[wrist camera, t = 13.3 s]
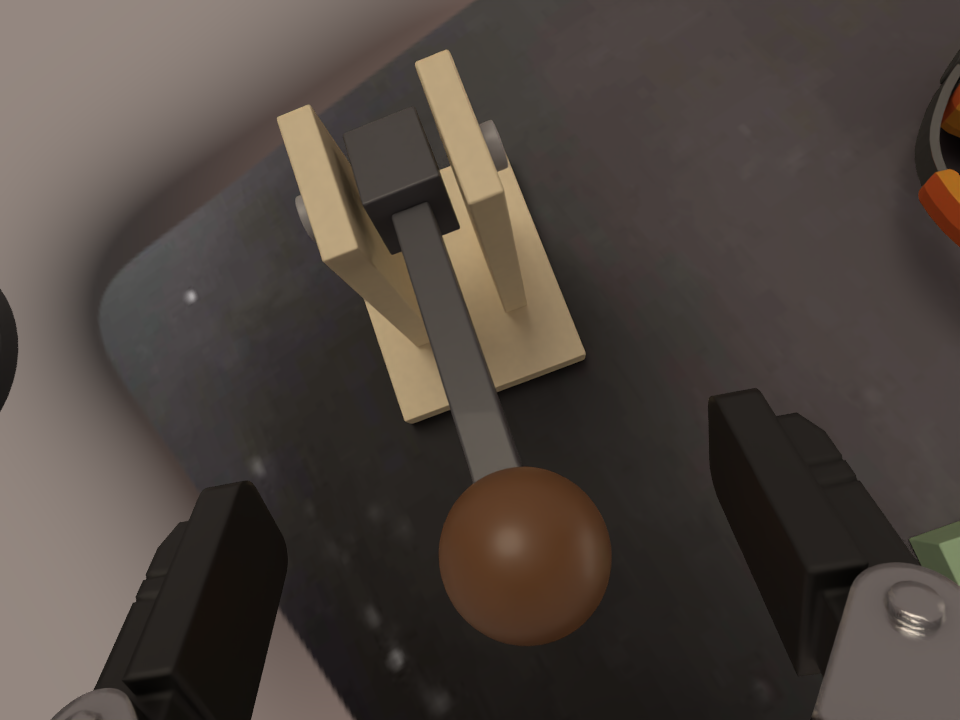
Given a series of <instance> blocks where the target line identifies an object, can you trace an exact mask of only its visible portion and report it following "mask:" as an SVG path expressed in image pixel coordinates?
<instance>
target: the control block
mask: <svg viewBox="0 0 960 720" xmlns="http://www.w3.org/2000/svg"><path fill="white" fill-rule="evenodd" d="M909 541H910V543H911V545H912V547H913V549H914V551H915V553H916V555H917V557H918V560H919V562H920V564H921V566H922V567H926V568H928V569H931V570H934V571H936V572H938V573H940V574H942V575H944V576H946V577H947V578H949V579H950V580H952V581H954V582H955V583H956V584H958V585H959V586H960V521H958V522H955V523H952V524H949V525H947V526H944V527H941V528H938V529H935V530H932V531H929V532H927V533H924V534H921V535H918V536H915V537H912V538H910V539H909Z"/></svg>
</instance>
